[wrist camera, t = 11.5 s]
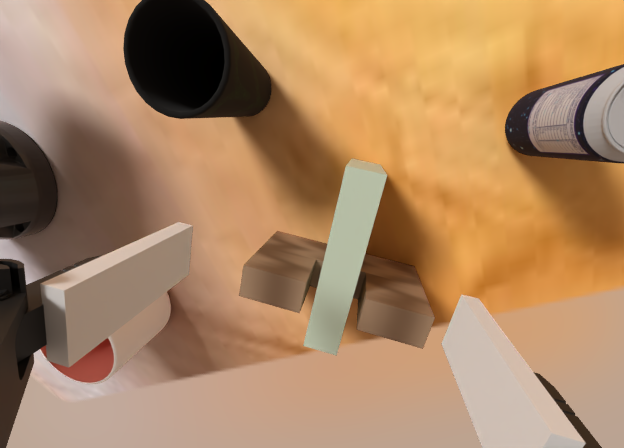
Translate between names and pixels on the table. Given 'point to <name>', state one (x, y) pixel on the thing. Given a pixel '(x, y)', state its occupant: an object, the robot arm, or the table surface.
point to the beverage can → (572, 119)
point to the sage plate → (345, 253)
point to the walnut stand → (369, 291)
